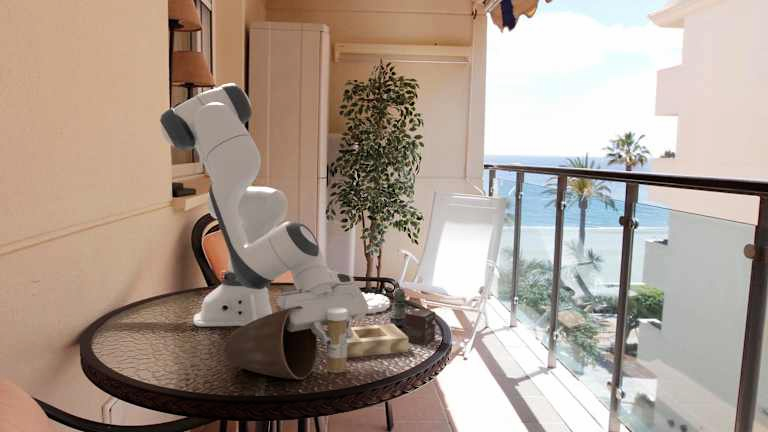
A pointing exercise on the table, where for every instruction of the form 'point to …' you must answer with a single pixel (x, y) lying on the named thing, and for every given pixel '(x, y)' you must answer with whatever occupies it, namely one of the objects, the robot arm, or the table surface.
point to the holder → (376, 340)
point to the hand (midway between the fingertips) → (338, 339)
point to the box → (420, 326)
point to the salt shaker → (398, 310)
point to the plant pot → (273, 347)
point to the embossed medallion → (376, 302)
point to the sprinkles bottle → (337, 340)
